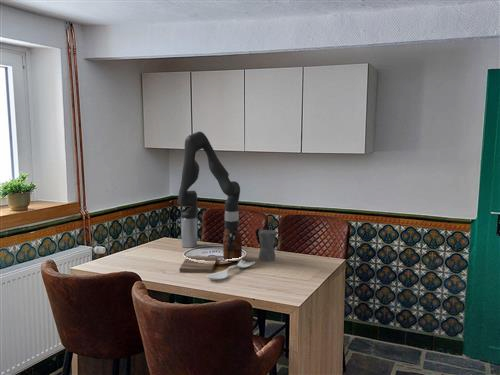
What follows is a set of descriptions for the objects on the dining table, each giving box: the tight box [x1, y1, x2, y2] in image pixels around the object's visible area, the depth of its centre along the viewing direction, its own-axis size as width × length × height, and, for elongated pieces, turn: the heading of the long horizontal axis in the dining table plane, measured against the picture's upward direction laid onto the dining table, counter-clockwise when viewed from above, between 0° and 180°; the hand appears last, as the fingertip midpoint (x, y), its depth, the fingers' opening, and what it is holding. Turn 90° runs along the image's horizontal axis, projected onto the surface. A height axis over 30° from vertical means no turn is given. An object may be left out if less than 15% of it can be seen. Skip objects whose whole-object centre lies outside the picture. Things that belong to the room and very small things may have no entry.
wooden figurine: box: [222, 228, 243, 263], centre depth 258 cm, size 12×6×18 cm, turn 64°
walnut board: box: [179, 255, 218, 274], centre depth 249 cm, size 22×16×2 cm
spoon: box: [206, 258, 257, 281], centre depth 237 cm, size 9×32×4 cm, turn 146°
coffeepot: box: [255, 226, 278, 262], centre depth 261 cm, size 15×9×18 cm, turn 44°
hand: (231, 249), depth 259 cm, fingers closed on wooden figurine, 7 cm apart
